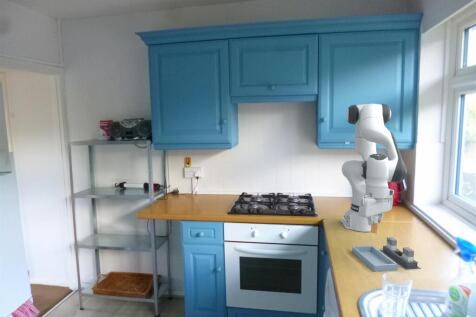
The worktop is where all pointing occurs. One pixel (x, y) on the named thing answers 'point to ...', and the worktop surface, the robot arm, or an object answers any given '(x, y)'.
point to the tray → (374, 258)
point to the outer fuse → (408, 254)
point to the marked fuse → (375, 224)
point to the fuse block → (399, 258)
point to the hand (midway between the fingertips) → (375, 223)
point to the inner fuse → (391, 243)
